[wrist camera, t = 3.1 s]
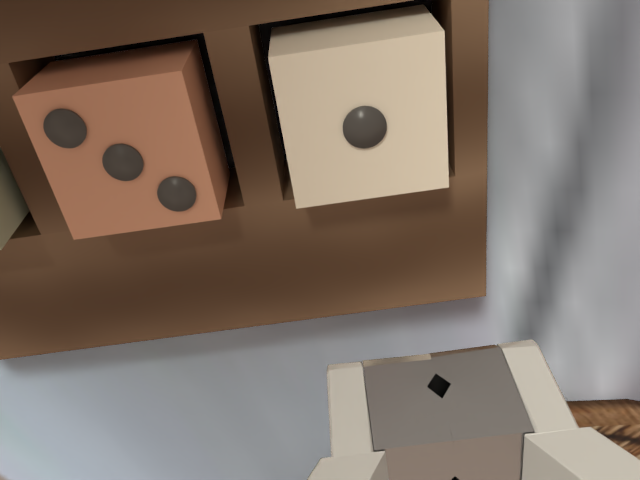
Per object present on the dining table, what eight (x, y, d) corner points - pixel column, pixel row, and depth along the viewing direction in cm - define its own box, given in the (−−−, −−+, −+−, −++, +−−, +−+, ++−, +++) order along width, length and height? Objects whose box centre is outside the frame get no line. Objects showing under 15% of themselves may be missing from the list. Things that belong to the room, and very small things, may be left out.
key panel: (-293, -105, 17) (-394, -95, 15) (460, -234, 16) (490, -249, 14) (-39, 317, 26) (-76, 369, 23) (466, 249, 25) (485, 295, 22)
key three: (50, 61, 18) (10, 97, 16) (196, 39, 18) (180, 71, 16) (100, 192, 21) (72, 241, 18) (230, 173, 21) (220, 221, 18)
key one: (271, 27, 18) (267, 58, 16) (423, 4, 18) (445, 31, 15) (296, 163, 21) (296, 210, 18) (429, 144, 20) (449, 188, 18)
